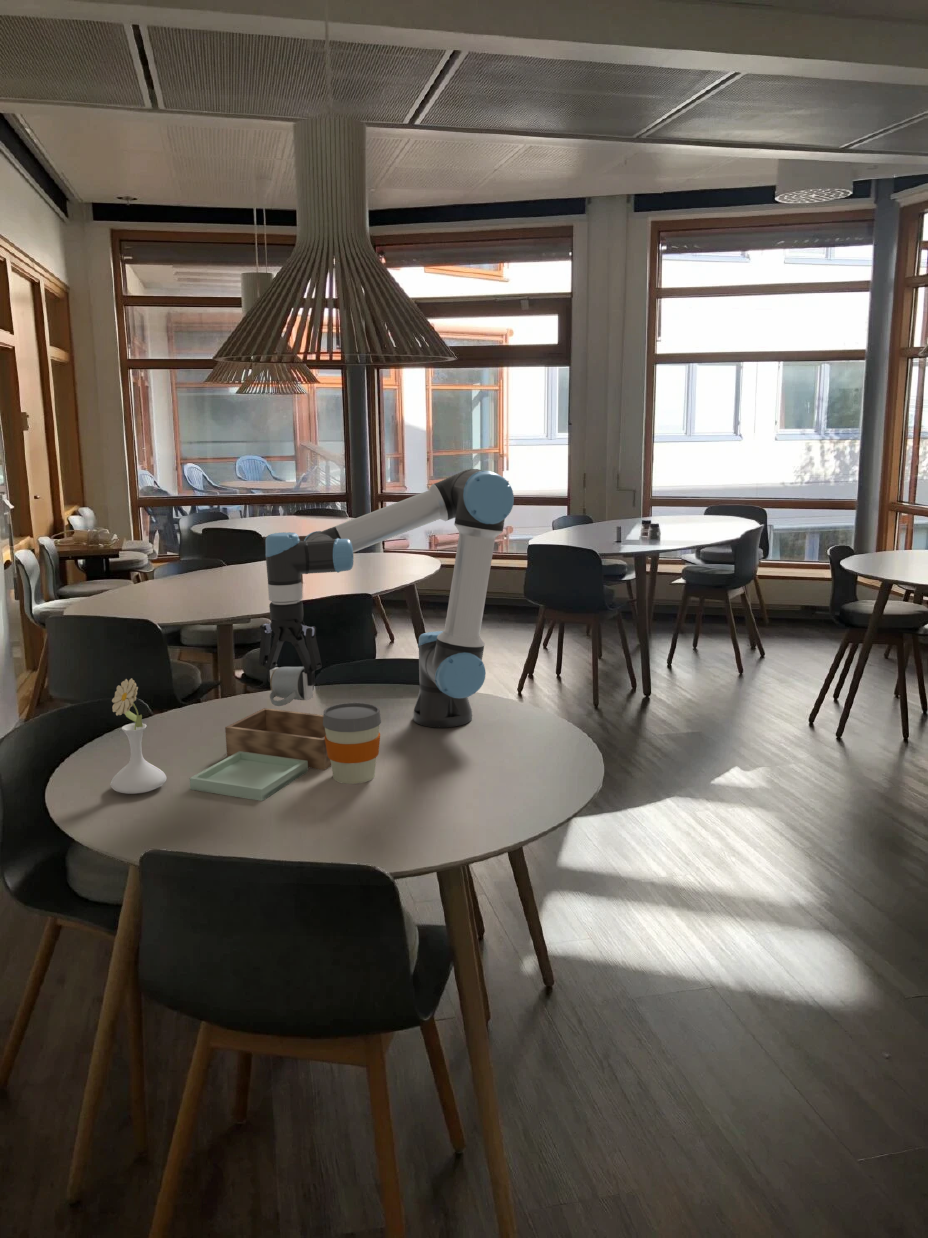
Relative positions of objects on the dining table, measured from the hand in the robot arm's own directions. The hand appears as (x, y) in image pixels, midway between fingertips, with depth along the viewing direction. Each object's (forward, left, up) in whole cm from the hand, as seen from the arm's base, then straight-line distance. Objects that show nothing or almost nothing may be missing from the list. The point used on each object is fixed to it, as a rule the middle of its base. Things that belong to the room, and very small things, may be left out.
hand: (292, 697), depth 227 cm
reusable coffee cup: (-21, +9, -14) cm, 26 cm away
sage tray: (-1, +19, -13) cm, 23 cm away
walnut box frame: (0, 0, -13) cm, 13 cm away
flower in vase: (+18, +32, -14) cm, 39 cm away
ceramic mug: (0, +1, -1) cm, 1 cm away
